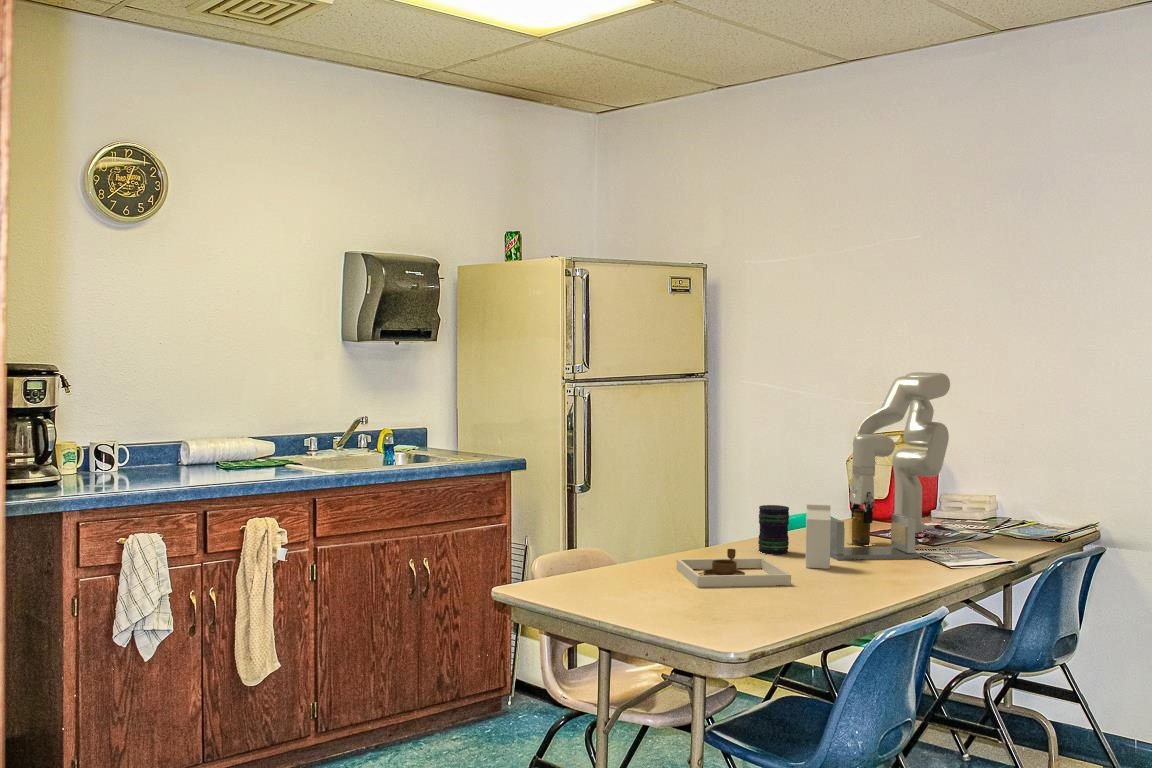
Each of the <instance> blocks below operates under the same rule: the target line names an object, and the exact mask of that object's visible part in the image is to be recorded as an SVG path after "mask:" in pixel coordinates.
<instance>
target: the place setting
mask: <svg viewBox="0 0 1152 768" xmlns="http://www.w3.org/2000/svg"><path fill="white" fill-rule="evenodd" d="M726 553H727V558H729V559H730V560H714V561H712V569H704V570H703V572H697V573H698V574H699V575H702V574H703V576H711V575H746V572H744V571H742V570H741V569H736V562H735V561H733V559H734V558H736V549H735V548H728V549H727V551H726Z"/></svg>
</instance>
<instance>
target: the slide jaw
mask: <svg viewBox="0 0 1152 768" xmlns="http://www.w3.org/2000/svg"><path fill="white" fill-rule="evenodd" d="M915 524H916V519H913V518H910V517H907V516H904V515H901V514H894V513H891V524H890V526H891V529H890V531H891V535H890V541H891V542H890V544H891V545H890V547H894V548H897V549H899V550H902V551H904V552H906V553H915V552H916V546H920V540H919V539H916V538H915Z"/></svg>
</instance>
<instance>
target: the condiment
mask: <svg viewBox="0 0 1152 768" xmlns="http://www.w3.org/2000/svg"><path fill="white" fill-rule="evenodd" d="M863 511H864V508H861V509H854V514H853V515H854V516H853V518H851V520H852V521H851V542H846V544H848V545H852V544H853V545H854V546H859V547H862V546H861V545H869V543H870V542H871V523H863ZM850 543H852V544H850Z"/></svg>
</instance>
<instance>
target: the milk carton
mask: <svg viewBox="0 0 1152 768" xmlns="http://www.w3.org/2000/svg"><path fill="white" fill-rule="evenodd" d="M805 511H806V514H805V520H806V521H805V568H808V569H824V570H825V569H826V570H827V569H828V570H829V569H831V564H830V563H831V557H830V526H831V517H832V516H831V515H832V514H831V505H830V504H829V505H827V504H806V510H805Z"/></svg>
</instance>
